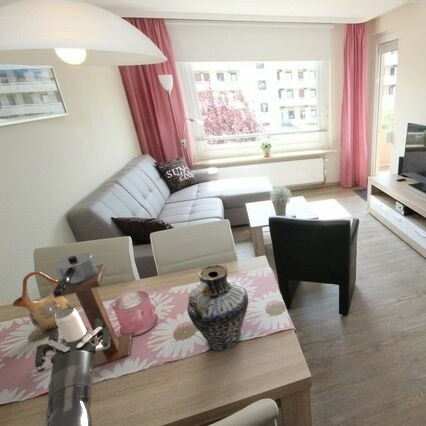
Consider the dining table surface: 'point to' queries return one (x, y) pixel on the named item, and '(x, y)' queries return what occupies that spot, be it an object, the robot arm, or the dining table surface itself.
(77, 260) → the pot
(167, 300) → the dining table surface
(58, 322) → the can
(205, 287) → the blue patterned vase
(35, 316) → the ceramic vessel
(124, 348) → the stand
